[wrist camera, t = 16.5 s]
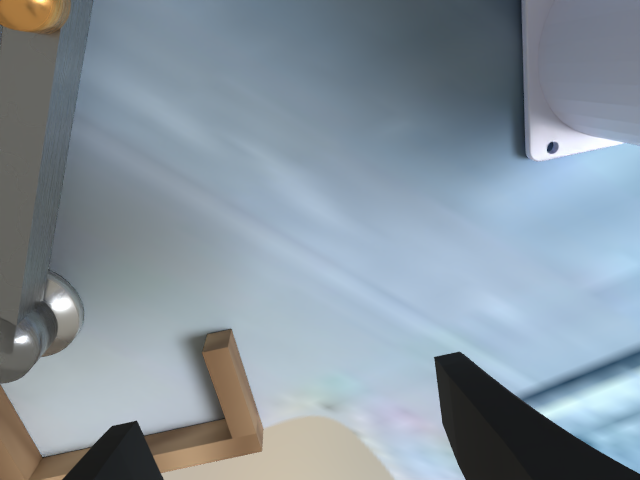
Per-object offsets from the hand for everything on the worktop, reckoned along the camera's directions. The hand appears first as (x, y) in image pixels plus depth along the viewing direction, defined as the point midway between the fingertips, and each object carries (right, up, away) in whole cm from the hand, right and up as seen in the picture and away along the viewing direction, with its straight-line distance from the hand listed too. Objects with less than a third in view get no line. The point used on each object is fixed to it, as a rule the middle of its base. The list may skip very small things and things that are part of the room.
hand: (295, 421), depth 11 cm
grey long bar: (-10, +6, +7) cm, 14 cm away
